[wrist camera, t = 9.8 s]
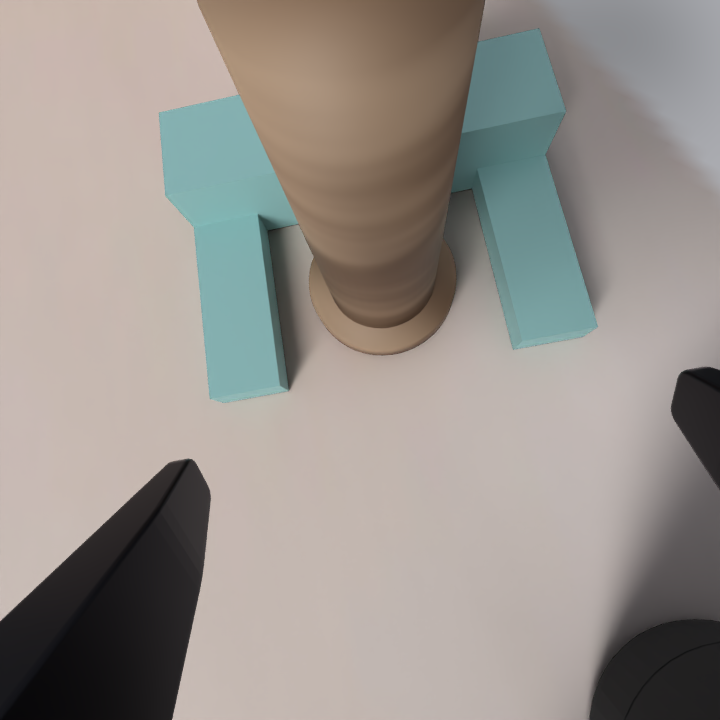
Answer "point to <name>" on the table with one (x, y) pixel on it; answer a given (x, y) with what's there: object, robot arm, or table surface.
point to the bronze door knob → (361, 146)
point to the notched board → (473, 171)
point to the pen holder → (663, 675)
